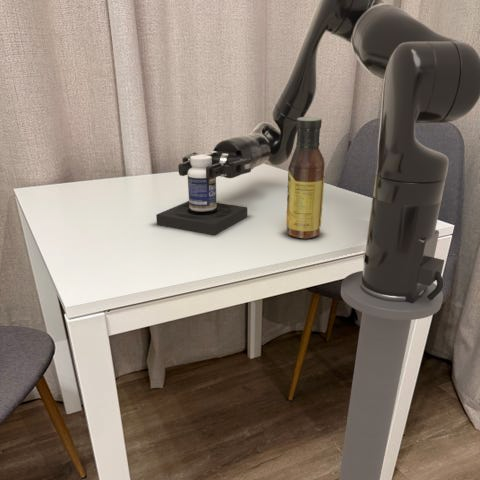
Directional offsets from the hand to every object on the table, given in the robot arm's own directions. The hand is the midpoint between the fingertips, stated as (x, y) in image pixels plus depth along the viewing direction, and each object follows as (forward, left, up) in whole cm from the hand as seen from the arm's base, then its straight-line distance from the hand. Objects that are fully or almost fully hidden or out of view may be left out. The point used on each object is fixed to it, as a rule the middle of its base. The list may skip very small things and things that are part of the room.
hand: (194, 171), depth 89 cm
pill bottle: (0, -3, -8) cm, 8 cm away
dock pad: (0, -2, -10) cm, 10 cm away
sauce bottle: (-20, -7, -10) cm, 23 cm away
